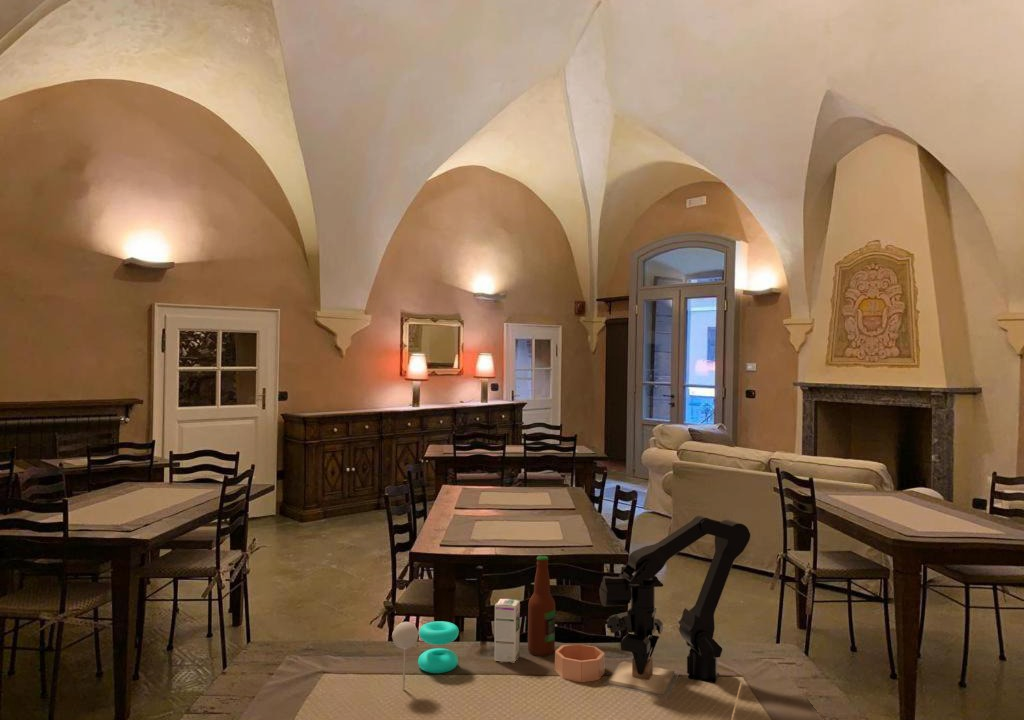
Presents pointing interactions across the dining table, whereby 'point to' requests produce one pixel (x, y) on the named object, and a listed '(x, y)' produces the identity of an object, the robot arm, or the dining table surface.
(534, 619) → the bottle
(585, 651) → the bowl
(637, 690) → the mat
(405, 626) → the lollipop
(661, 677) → the lid
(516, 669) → the dining table surface
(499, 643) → the syrup box
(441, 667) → the donuts
